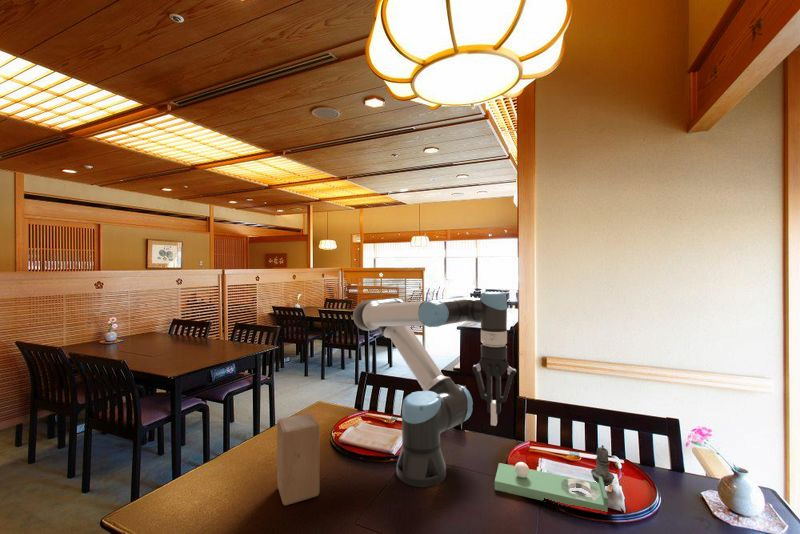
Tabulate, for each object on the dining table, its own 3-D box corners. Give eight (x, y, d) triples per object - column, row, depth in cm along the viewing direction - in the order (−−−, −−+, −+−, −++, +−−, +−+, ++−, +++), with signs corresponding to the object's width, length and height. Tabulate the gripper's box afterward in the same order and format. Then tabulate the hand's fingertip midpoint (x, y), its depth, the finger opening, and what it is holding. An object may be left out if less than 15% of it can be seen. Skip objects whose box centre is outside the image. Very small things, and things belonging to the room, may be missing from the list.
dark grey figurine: (617, 494, 100) (617, 451, 100) (594, 491, 101) (594, 449, 101) (609, 481, 106) (609, 440, 105) (588, 479, 107) (588, 439, 107)
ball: (513, 479, 103) (514, 465, 103) (515, 471, 106) (515, 458, 106) (528, 482, 101) (528, 468, 101) (529, 474, 105) (529, 460, 105)
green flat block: (494, 489, 102) (494, 473, 102) (499, 470, 111) (499, 456, 111) (607, 515, 91) (607, 498, 91) (602, 492, 100) (602, 476, 100)
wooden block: (282, 508, 94) (282, 432, 94) (276, 487, 103) (276, 417, 103) (320, 496, 99) (320, 424, 99) (311, 477, 108) (311, 411, 108)
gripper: (469, 345, 105) (469, 425, 106) (515, 348, 100) (516, 432, 101) (474, 340, 112) (474, 415, 112) (517, 343, 107) (518, 422, 108)
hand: (494, 423), depth 107 cm, fingers closed
